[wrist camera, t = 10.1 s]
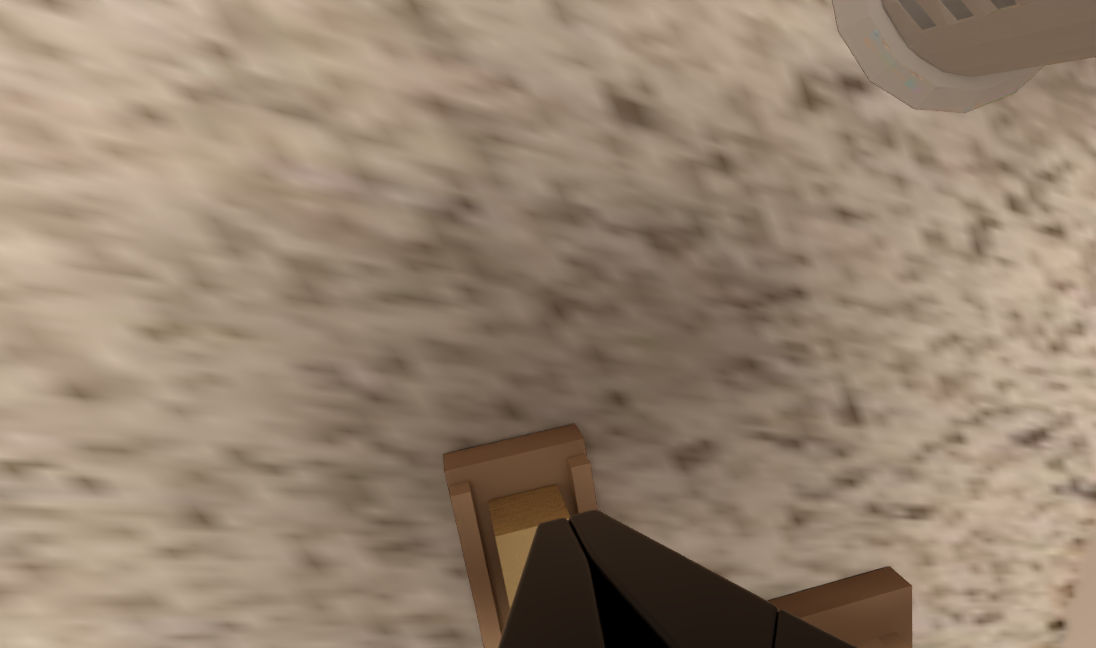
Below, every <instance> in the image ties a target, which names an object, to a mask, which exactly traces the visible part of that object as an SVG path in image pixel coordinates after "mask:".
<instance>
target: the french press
mask: <svg viewBox="0 0 1096 648" xmlns="http://www.w3.org/2000/svg"><path fill="white" fill-rule="evenodd" d="M832 1H833V6H834V11H835V17H836V22H837V27H838V32H839V33H840V35H841V36H842V38H843V39H844V41H845V43H846V44H847V46H848V47H849V49H850V50H851V52H852V53H853V55H854V57H855V58H856V60H857V61H858V63H859V64H860V66H861V68H862V69H863V71H864V72H865V74H866V75H867V77H868V79H869V80H870V81H871V82H872V83H874V84H875V85H877V86H879V87H880V88H882V89H883V90H885V91H887V92H888V93H890V94H891V95H893V96H895V97H896V98H898V99H899V100H901V101H903V102H904V103H906V104H907V105H909V106H911V107H912V108H914V109H922V110H935V111H949V112H963V113H965V112H968V111H970V110H973V109H976V108H978V107H981V106H983V105H986V104H988V103H991V102H993V101H996V100H998V99H1001V98H1003V97H1006V96H1008V95H1011V94H1013V93H1015V92H1016V91H1017V90H1018V89H1019V88H1021V87H1022V86H1023V85H1024V84H1025V83H1026V82H1027V81H1028V80H1029V79H1030V78H1031V77H1032V76H1033V75H1034V74H1035V73H1037V72H1038V71H1039V70H1040V69H1041V68H1042V67H1043V66H1044V65H1050V64H1056V63H1062V62H1068V61H1074V60H1080V59H1086V58H1092V57H1096V0H832Z"/></svg>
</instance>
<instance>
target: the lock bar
mask: <svg viewBox="0 0 1096 648" xmlns="http://www.w3.org/2000/svg"><path fill="white" fill-rule="evenodd" d="M488 503H489V508H490V513H491V518H492V523H493V529H494V534H495V539H496V543H497V548H498V553H499V558H500V563H501V567H502V572H503V577H504V582H505V587H506V591H507V596H508V601H509V606H510V609H511V606H512V603H513V600H514V596H515V593H516V590H517V587H518V584H519V581H520V578H521V575H522V572H523V569H524V566H525V563H526V560H527V557H528V553H529V550H530V547H531V544H532V541H533V538H534V535H535V532H536V529H537V526H538V525H539V524H540V523H543V522H547V521H551V520H555V519H559V518H566V519H567V520H569V517H570V515H569V513H568V510H567V508H566V505H565V503H564V501H563V498H562V496H561V494H560V491H559V489H558V486H557V484H556V485H552V486H548V487H544V488H540V489H535V490H531V491H527V492H523V493H519V494H515V495H511V496H507V497H503V498H499V499H494V500H490V501H488Z"/></svg>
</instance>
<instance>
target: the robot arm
mask: <svg viewBox="0 0 1096 648" xmlns="http://www.w3.org/2000/svg"><path fill="white" fill-rule="evenodd" d="M498 648H859V647H856V646H854V645H852V644H850V643H848V642H846V641H844V640H842V639H840V638H838V637H836V636H834V635H832V634H830V633H828V632H826V631H824V630H822V629H820V628H818V627H816V626H814V625H812V624H810V623H808V622H806V621H804V620H802V619H801V618H799V617H797V616H795V615H793V614H791V613H789V612H788V611H786V610H784V609H781V610H779V609H778V607H777V606H776V605H774V604H772V603H770V602H768V601H767V600H765V599H763V598H761V597H759V596H757V595H755V594H753V593H752V592H750V591H748V590H746V589H744V588H742V587H740V586H738V585H737V584H735V583H733V582H731V581H729V580H727V579H725V578H724V577H722V576H720V575H718V574H716V573H714V572H712V571H710V570H709V569H707V568H705V567H703V566H701V565H699V564H697V563H696V562H694V561H692V560H690V559H688V558H686V557H684V556H682V555H681V554H679V553H677V552H675V551H673V550H671V549H669V548H668V547H666V546H664V545H662V544H660V543H658V542H656V541H654V540H653V539H651V538H649V537H647V536H645V535H643V534H641V533H639V532H638V531H636V530H634V529H632V528H630V527H628V526H626V525H625V524H623V523H621V522H619V521H617V520H615V519H613V518H611V517H610V516H608V515H606V514H604V513H602V512H600V511H598V510H590V511H586V512H582V513H579V514H575V515H572V516H570V517H569V520H567V519H566V518H559V519H555V520H551V521H547V522H543V523H540V524H539V525H538V526H537V529H536V532H535V535H534V538H533V541H532V544H531V547H530V550H529V553H528V557H527V560H526V563H525V566H524V569H523V572H522V575H521V578H520V581H519V584H518V587H517V590H516V593H515V596H514V600H513V603H512V606H511V609H510V612H509V615H508V618H507V621H506V624H505V627H504V630H503V633H502V636H501V640H500V643H499V646H498Z"/></svg>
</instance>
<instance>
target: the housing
mask: <svg viewBox="0 0 1096 648" xmlns="http://www.w3.org/2000/svg"><path fill="white" fill-rule="evenodd" d="M443 457H444V471H445V476H446V480H447V485H448V489H449V493H450V498H451V502H452V507H453V511H454V516H455V520H456V524H457V529H458V533H459V538H460V542H461V547H462V551H463V555H464V560H465V564H466V569H467V573H468V577H469V582H470V586H471V591H472V595H473V600H474V604H475V608H476V613H477V617H478V622H479V626H480V631H481V635H482V639H483V644H484V648H498V646H499V643H500V640H501V636H502V633H503V630H504V627H505V624H506V621H507V618H508V615H509V612H510V606H509V601H508V596H507V591H506V587H505V582H504V577H503V572H502V567H501V563H500V558H499V553H498V548H497V543H496V539H495V534H494V529H493V523H492V518H491V513H490V508H489V503H488V501H490V500H494V499H499V498H503V497H507V496H511V495H515V494H519V493H523V492H527V491H531V490H535V489H540V488H544V487H548V486H552V485H556V484H557V486H558V489H559V491H560V494H561V496H562V498H563V501H564V503H565V505H566V508H567V510H568V513H569V515H570V516H572V515H575V514H579V513H582V512H586V511H590V510H597V503H596V497H595V491H594V484H593V478H592V472H591V465H590V462H589V460H588V458H587V455H586V449H585V443H584V438H583V436H582V435H581V433H580V431H579V430H578V428H577V426H576V424H572V425H568V426H564V427H559V428H555V429H551V430H546V431H542V432H538V433H533V434H529V435H525V436H520V437H516V438H512V439H507V440H503V441H499V442H494V443H490V444H486V445H481V446H477V447H473V448H468V449H464V450H460V451H455V452H451V453H447V454H443ZM768 602H770V603H772V604H774V605H776V606H777V607H778V609H779V610H781V609H784V610H786V611H788V612H789V613H791V614H793V615H795V616H797V617H799V618H801V619H802V620H804V621H806V622H808V623H810V624H812V625H814V626H816V627H818V628H820V629H822V630H824V631H826V632H828V633H830V634H832V635H834V636H836V637H838V638H840V639H842V640H844V641H846V642H848V643H850V644H852V645H854V646H856V647H859V648H912V585H911V584H909V583H908V582H907V581H906V580H905V579H904V578H902V577H901V576H900V575H899V574H898V573H897V572H895V571H894V570H893V569H892V568H891V567H890V566H889V567H886V568H882V569H879V570H875V571H872V572H868V573H865V574H861V575H858V576H854V577H851V578H847V579H844V580H840V581H837V582H833V583H830V584H826V585H822V586H819V587H815V588H812V589H808V590H805V591H801V592H798V593H794V594H791V595H787V596H784V597H780V598H777V599H773V600H770V601H768Z"/></svg>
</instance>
